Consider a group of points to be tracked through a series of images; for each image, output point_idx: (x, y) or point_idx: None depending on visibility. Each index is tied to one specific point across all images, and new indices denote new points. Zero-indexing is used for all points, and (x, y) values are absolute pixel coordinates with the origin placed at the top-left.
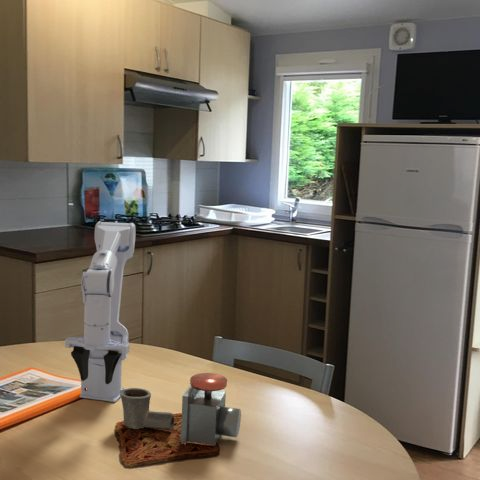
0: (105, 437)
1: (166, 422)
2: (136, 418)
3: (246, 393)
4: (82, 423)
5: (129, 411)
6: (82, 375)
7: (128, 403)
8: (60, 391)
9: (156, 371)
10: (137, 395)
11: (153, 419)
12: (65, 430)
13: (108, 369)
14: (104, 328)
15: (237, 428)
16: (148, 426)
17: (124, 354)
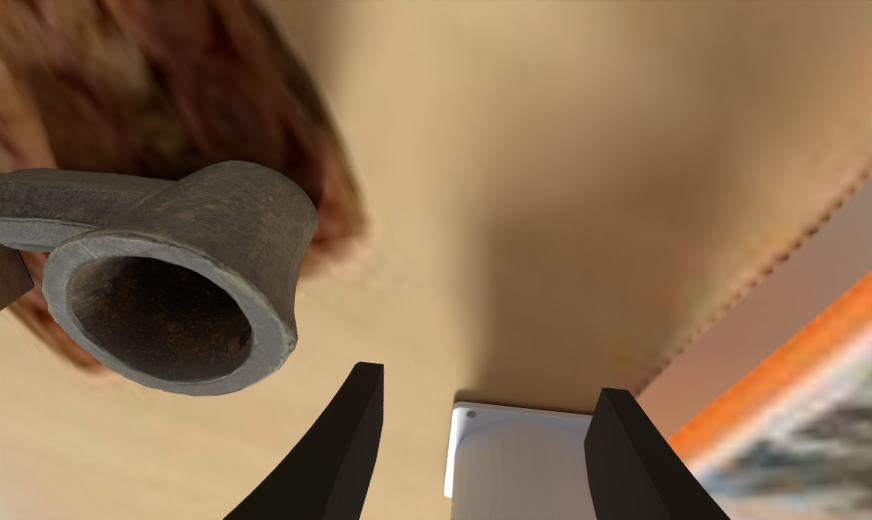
0: (353, 35)
1: (18, 177)
2: (189, 180)
3: (32, 506)
4: (547, 181)
5: (212, 197)
6: (630, 427)
7: (186, 219)
8: (737, 457)
9: None
10: (205, 343)
11: (96, 191)
12: (627, 71)
13: (287, 484)
14: None
15: None
16: (160, 180)
17: None
